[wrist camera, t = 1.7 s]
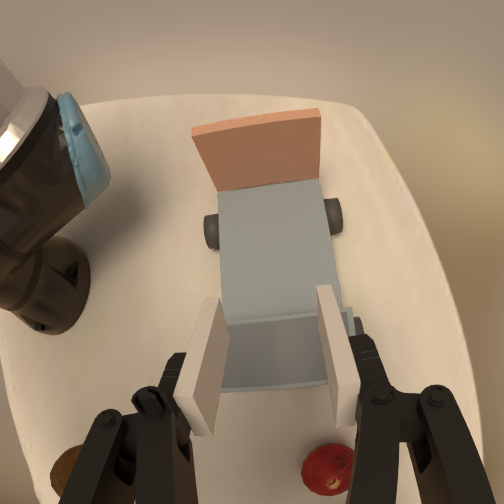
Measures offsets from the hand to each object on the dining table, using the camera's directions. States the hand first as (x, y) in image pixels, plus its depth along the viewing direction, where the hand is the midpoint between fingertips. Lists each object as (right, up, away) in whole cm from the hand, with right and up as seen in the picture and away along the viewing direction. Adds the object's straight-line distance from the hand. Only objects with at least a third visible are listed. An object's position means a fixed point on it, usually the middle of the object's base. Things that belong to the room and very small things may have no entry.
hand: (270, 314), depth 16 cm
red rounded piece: (+7, -20, +11) cm, 24 cm away
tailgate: (+1, +11, +19) cm, 22 cm away
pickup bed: (+2, -1, +19) cm, 19 cm away
